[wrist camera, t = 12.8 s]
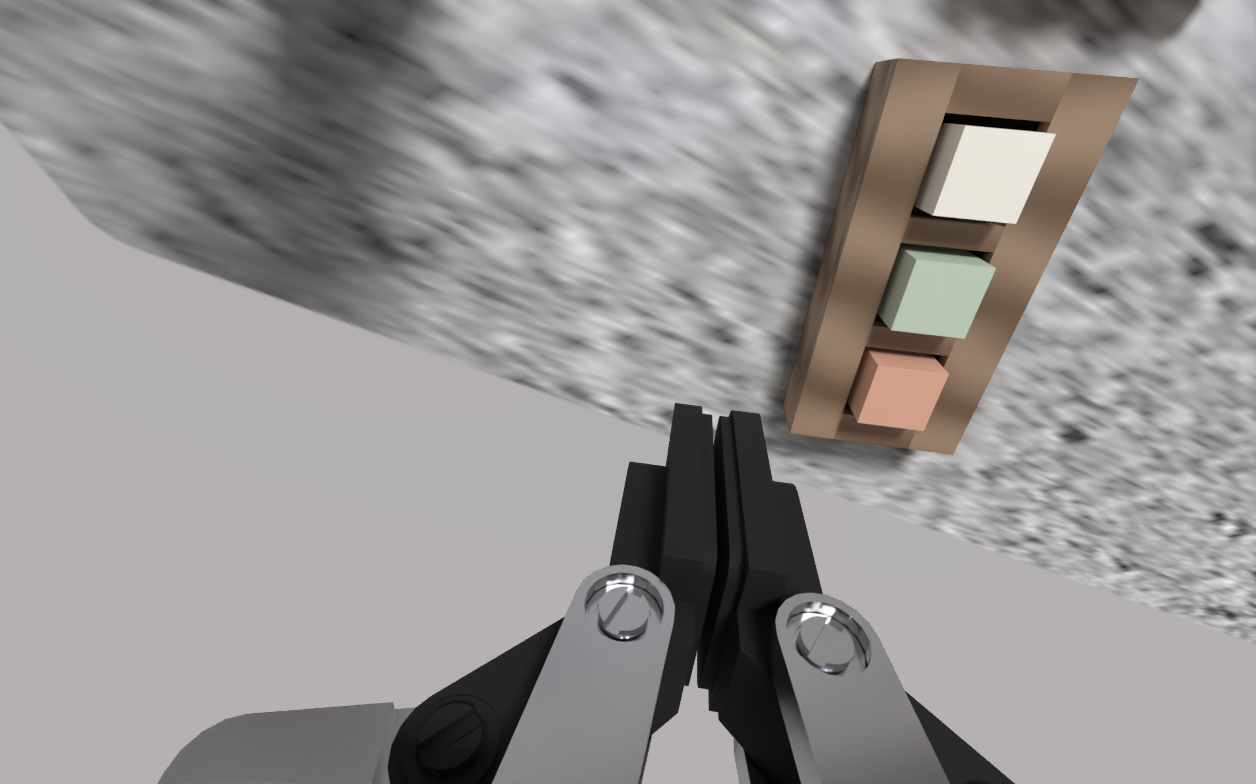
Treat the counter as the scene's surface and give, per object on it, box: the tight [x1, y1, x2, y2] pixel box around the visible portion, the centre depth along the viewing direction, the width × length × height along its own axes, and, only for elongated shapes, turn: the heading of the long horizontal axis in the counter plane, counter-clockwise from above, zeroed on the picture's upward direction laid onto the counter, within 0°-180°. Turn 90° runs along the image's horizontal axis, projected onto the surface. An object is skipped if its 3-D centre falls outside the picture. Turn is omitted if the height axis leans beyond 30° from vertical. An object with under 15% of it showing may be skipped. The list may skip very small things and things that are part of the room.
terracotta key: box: [847, 346, 949, 431], centre depth 36 cm, size 4×4×4 cm
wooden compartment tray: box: [783, 58, 1139, 455], centre depth 34 cm, size 24×12×4 cm, turn 175°
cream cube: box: [914, 123, 1056, 224], centre depth 29 cm, size 4×4×4 cm
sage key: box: [877, 243, 996, 339], centre depth 33 cm, size 4×4×4 cm
